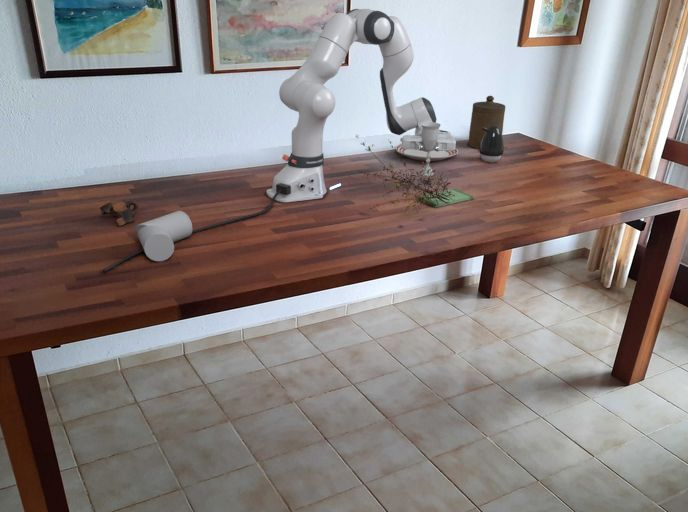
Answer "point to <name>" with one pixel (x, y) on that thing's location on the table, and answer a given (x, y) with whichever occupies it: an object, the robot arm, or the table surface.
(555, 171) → the table surface
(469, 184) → the table surface
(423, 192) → the dried plant
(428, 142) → the chalice
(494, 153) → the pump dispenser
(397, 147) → the dinner plate
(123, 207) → the brown irregular block
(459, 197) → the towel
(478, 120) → the wooden container
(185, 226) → the bent grey cylinder
